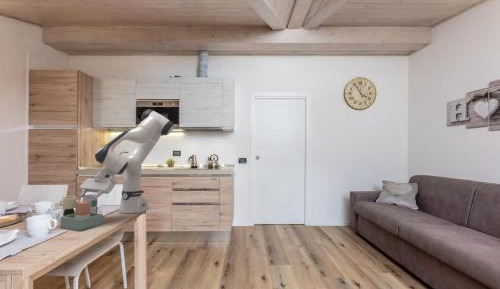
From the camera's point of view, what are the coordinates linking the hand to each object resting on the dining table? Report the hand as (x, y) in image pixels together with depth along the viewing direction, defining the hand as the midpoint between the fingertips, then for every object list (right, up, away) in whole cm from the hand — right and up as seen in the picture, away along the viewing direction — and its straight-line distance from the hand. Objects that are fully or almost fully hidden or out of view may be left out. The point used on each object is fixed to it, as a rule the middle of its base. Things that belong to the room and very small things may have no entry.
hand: (88, 197), depth 160 cm
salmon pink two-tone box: (-1, -14, -4) cm, 15 cm away
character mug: (-17, -15, +9) cm, 24 cm away
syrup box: (-6, -15, +12) cm, 20 cm away
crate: (-1, -15, -4) cm, 16 cm away
